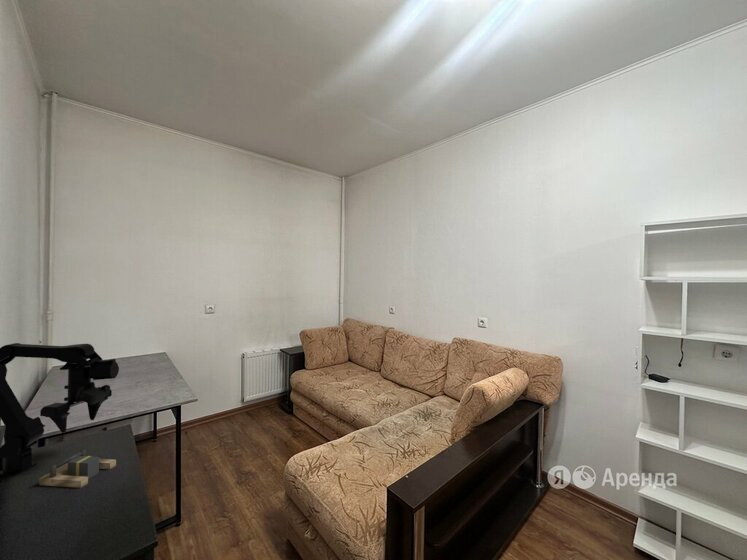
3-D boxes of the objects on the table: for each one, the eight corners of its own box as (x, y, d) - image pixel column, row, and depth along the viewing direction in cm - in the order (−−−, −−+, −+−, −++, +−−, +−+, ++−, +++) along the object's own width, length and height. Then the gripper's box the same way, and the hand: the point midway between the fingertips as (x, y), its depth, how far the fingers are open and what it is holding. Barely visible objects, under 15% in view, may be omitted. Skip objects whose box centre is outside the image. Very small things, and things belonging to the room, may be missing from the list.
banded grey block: (87, 479, 93) (87, 463, 93) (67, 478, 93) (67, 462, 93) (99, 472, 96) (99, 456, 96) (79, 471, 97) (80, 455, 97)
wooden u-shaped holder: (39, 485, 90) (39, 467, 90) (78, 463, 101) (78, 448, 101) (80, 487, 89) (81, 470, 89) (115, 465, 100) (116, 450, 100)
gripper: (70, 390, 93) (69, 440, 93) (125, 373, 112) (124, 415, 111) (39, 390, 94) (38, 439, 94) (98, 373, 113) (97, 414, 112)
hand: (78, 425), depth 103 cm, fingers open, 9 cm apart
